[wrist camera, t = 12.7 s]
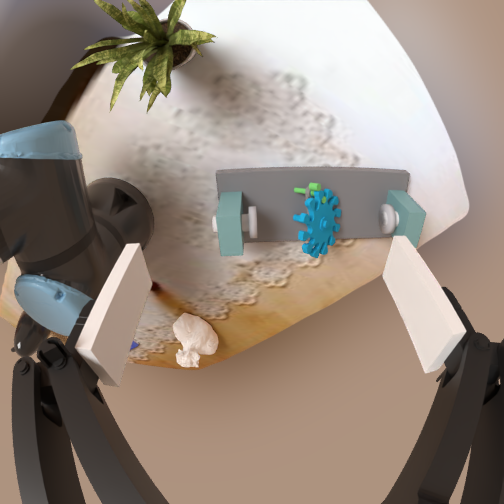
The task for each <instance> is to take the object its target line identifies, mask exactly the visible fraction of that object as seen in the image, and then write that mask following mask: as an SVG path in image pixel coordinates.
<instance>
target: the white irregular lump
mask: <svg viewBox="0 0 504 504" xmlns="http://www.w3.org/2000/svg"><path fill="white" fill-rule="evenodd" d="M173 331H174V334H175V336H176V338H177V339H178V340H179V341H180V342H181V344H182V345H183V351H182V350H180V349H179V350H178V353H176V357H177V363H178V364H180V365H181V366H183V367H199V366H198V364H199V361H198V360H199V359H200V356H199V354H198V352H199V353H200V354H207V355H211V354H214V353H215V352H216V349H217V345H218V336H217V334H216V333H215V332H214V330H213V329H212V326H211V325H210V324H208V323H207V322H206V321H205V320H203V319H201V318H200V317H199V316H194V315H191V314H188V313H183V314H182V315H181V316H180V317H179V318H178V319H177V321H176V322H175V323H174V324H173Z"/></svg>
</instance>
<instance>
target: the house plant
mask: <svg viewBox="0 0 504 504" xmlns="http://www.w3.org/2000/svg"><path fill="white" fill-rule="evenodd" d="M94 1H95V3H96V4H97V5H98V6H99V7H100V8H101V9H102V10H104V11H105V12H106V13H107V14H109V15H110V16H111V17H112V18H113V19H115V20H116V21H117V22H119V23H120V24H122V27H123V28H125V29H127V30H129V31H132V32H134V33H136V34H138V35H140V36H141V37H140V38H130V39H119V40H107V41H101V42H98V43H96V44H94V45H91V46H89V47H87V48H85V49H84V50H86V49H91V48H95V47H100V46H106V45H116V44H124V43H133V42H138V43H136V44H132V45H128V46H125V47H120V48H114V49H109V50H105V51H101V52H98V53H95V54H93V55H91V56H89V57H88V58H86V59H85V60H83V61H81V62H79V63H77V64H76V65H75V66H74V67H73V68H72V69H74V68H77V67H80V66H83V65H85V64H89V63H92V62H95V61H98V60H102V59H104V60H102V61H100V62H98V63H97V64H103V63H108V62H114V61H117V62H116V63H115V64H114V66H113V69H112V73H119V75H118V76H117V78H116V81H115V85H114V90H113V95H112V98H111V103H110V111H111V110H112V108H113V106H114V104H115V102H116V100H117V97H118V95H119V93H120V90H121V88H122V86H123V84H124V82H125V80H126V79H127V77H128V76H129V75H130V74H131V73H132V72H133V71H134V70H135V69H136V68H137V67H138V66H139V68H140V69H141V70H142V71H143V64H144V65H145V66H146V70H145V73H144V76H143V87H142V91H141V94H140V100H141V99H142V97H143V95H144V94H145V92H146V91H147V93H148V95H149V96H150V94H151V93H152V92H153V93H152V95H151V97H150V100H149V104H148V108H147V112H148V110H149V109H150V108H151V106H152V105H153V103H154V101H155V99H156V97H157V95H158V94H159V93H160V92H161V93H162V94H163V95H164V96H165V97H166V98H167V95H168V94H169V92H170V90H171V79H170V74H171V71H172V70H175V69H177V68H179V67H181V66H182V65H184V64H185V63H187V62H188V61H190V60H191V59H192V58H193V57H194V55H195V53H196V52H197V53H198V54H199V55H201V56H202V54H201V52H200V51H199V49H198V48H197V45H201V44H204V43H209V42H213V41H212V40H211V39H210V38H213V37H216V36H214V35H212V34H209V33H206V32H203V31H197V30H192V28H191V27H190V26H189V25H188V24H187V23H185V22H184V21H182V20H179V18H180V15H181V12H182V9H183V7H184V5H185V2H186V0H175V1H174V2H173V4H172V6H171V8H170V12H169V15H168V19H163V20H159V19H158V18H157V16H156V14H155V12H154V10H153V8H152V7H151V5H149V3H148V2H147V1H146V0H139V2H140V5H141V6H140V5H138V4H137V3H136V2H134V1H133V0H127V1H128V2H129V3H131V4H132V6H133V8H134V9H135V10H136V11H137V12H138V13H137V12H134V11H128V12H127V11H126V8H125V6H124V4H123V3H122V12H121V11H120V10H119V9H117V8H116V7H115V6H113V5H111V4H109V3H106V2H104V1H102V0H94ZM214 43H215V42H214ZM202 57H203V56H202ZM105 58H106V59H105ZM157 81H158V82H157ZM156 83H157V84H156ZM139 102H140V101H139ZM109 113H110V112H109Z"/></svg>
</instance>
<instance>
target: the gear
mask: <svg viewBox="0 0 504 504" xmlns="http://www.w3.org/2000/svg"><path fill="white" fill-rule="evenodd" d="M320 189H321V185H320V184H319V183H310V184H309V186H308V187H307V188H306V189H303V188H294V192H295V193H302V194H305V196H306V201H305V206H306V207H307V214H305V213H301V215H297V214H295V215H294V216H293V220H294V221H298V222H300V223H304V224H306V226H307V228H308V230H307V231H303V230H300V231H299V233H298V239H299V240H302V241H306V240H307V239H308V238H310V241H309V243H308V244H306V243H304V244H303V245H302V250H303V252H304V253H307V254H309V253H310V256H312V257H315V258H318V256H319V253H320V254H323V255H325V254H327V252H328V248H327V245H331V246H332V245H333V244H334V243H335V238H334V236H333V231H334V232H338V231H339V229H340V224H337V223H336V222H335V220H334V217H340V216H341V209H337V208H335V209H334V210H332V207H333V205H338V203H339V200H338V196H332V195H333V192H332V191H331V190H330V189H324V191H322V190H320ZM329 198H330V200H329V202H328V199H329ZM313 247H314V248H313ZM312 248H313V249H312Z"/></svg>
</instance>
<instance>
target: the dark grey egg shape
mask: <svg viewBox="0 0 504 504" xmlns="http://www.w3.org/2000/svg"><path fill="white" fill-rule="evenodd" d="M50 332H51V331H50V330H49V329H47V328H46V327H44V326H42V325H41V324H39V323H38V322H36V321H35V320H34V319H33V318H31V317H30V316H29V315H28V314H27V313H26V312H25V311H23V312H22V314H21V316H20V318H19V321H18V324H17V327H16V332H15V338H14V347H13V348H12V349H11V351H12V352H16V353H17V354H18V355H19V356H21V357H24V356H31V355H33V354H34V353H35V352H36V351H37V350H38V348H39V346H40V345H41V343H42V342H43V341H45V340H46V339H47V338H48V337H49V335H50Z"/></svg>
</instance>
